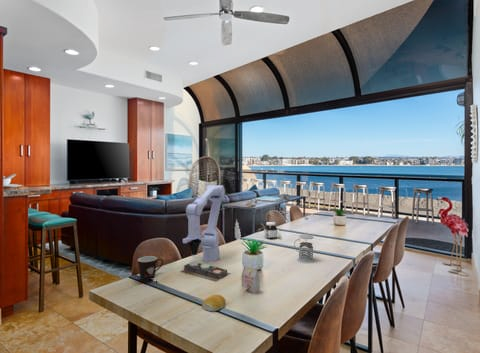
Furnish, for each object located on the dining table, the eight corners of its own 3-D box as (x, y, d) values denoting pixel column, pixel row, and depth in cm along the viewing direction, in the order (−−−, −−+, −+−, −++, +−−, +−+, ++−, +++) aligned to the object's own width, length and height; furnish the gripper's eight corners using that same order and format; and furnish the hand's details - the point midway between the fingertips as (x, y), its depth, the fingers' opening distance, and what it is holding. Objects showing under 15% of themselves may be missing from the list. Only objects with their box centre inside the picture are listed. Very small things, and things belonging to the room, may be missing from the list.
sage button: (204, 267, 146) (204, 263, 146) (211, 268, 143) (211, 264, 143) (198, 269, 142) (198, 265, 142) (205, 271, 140) (205, 267, 140)
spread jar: (263, 237, 221) (263, 222, 220) (275, 235, 226) (275, 220, 225) (271, 240, 210) (271, 224, 210) (284, 239, 215) (284, 223, 214)
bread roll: (229, 304, 113) (229, 294, 113) (214, 314, 106) (214, 303, 106) (213, 299, 118) (213, 289, 118) (198, 307, 111) (198, 297, 111)
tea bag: (247, 286, 130) (247, 264, 129) (259, 290, 125) (259, 268, 125) (242, 289, 127) (241, 266, 126) (254, 293, 123) (254, 270, 122)
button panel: (196, 267, 154) (195, 260, 154) (231, 276, 142) (231, 268, 141) (179, 274, 144) (179, 266, 144) (216, 284, 132) (216, 276, 131)
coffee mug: (137, 284, 132) (137, 262, 132) (138, 277, 141) (138, 257, 140) (163, 281, 136) (163, 260, 135) (163, 275, 144) (163, 255, 143)
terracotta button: (216, 273, 142) (216, 269, 142) (223, 275, 139) (223, 270, 139) (210, 275, 138) (210, 271, 138) (218, 277, 136) (218, 273, 136)
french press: (315, 263, 160) (315, 218, 159) (294, 262, 162) (294, 218, 161) (314, 258, 169) (314, 216, 169) (294, 257, 172) (294, 215, 171)
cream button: (193, 264, 150) (193, 260, 150) (200, 265, 148) (200, 262, 147) (187, 266, 146) (187, 262, 146) (194, 268, 144) (194, 264, 144)
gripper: (197, 224, 154) (197, 249, 155) (178, 229, 142) (178, 256, 143) (208, 225, 151) (208, 251, 151) (188, 231, 138) (188, 259, 139)
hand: (194, 254), depth 147 cm, fingers closed
